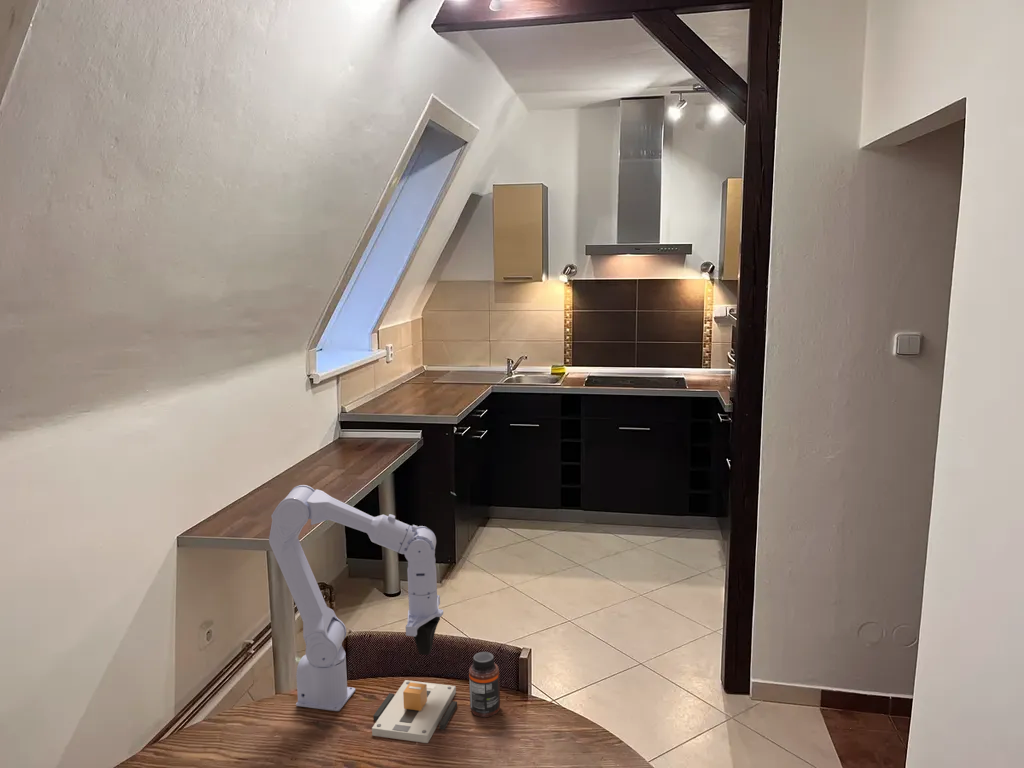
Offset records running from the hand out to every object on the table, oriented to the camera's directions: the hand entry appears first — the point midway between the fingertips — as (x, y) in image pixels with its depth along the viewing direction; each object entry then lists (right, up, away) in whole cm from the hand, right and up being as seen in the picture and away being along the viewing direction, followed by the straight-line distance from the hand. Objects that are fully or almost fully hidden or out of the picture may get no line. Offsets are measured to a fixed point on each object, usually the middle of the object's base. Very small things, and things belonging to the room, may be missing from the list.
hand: (425, 653), depth 153 cm
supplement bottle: (+12, -10, -3) cm, 16 cm away
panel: (-1, -10, -4) cm, 11 cm away
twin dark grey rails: (-1, -10, -4) cm, 11 cm away
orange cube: (-1, -9, -5) cm, 10 cm away
